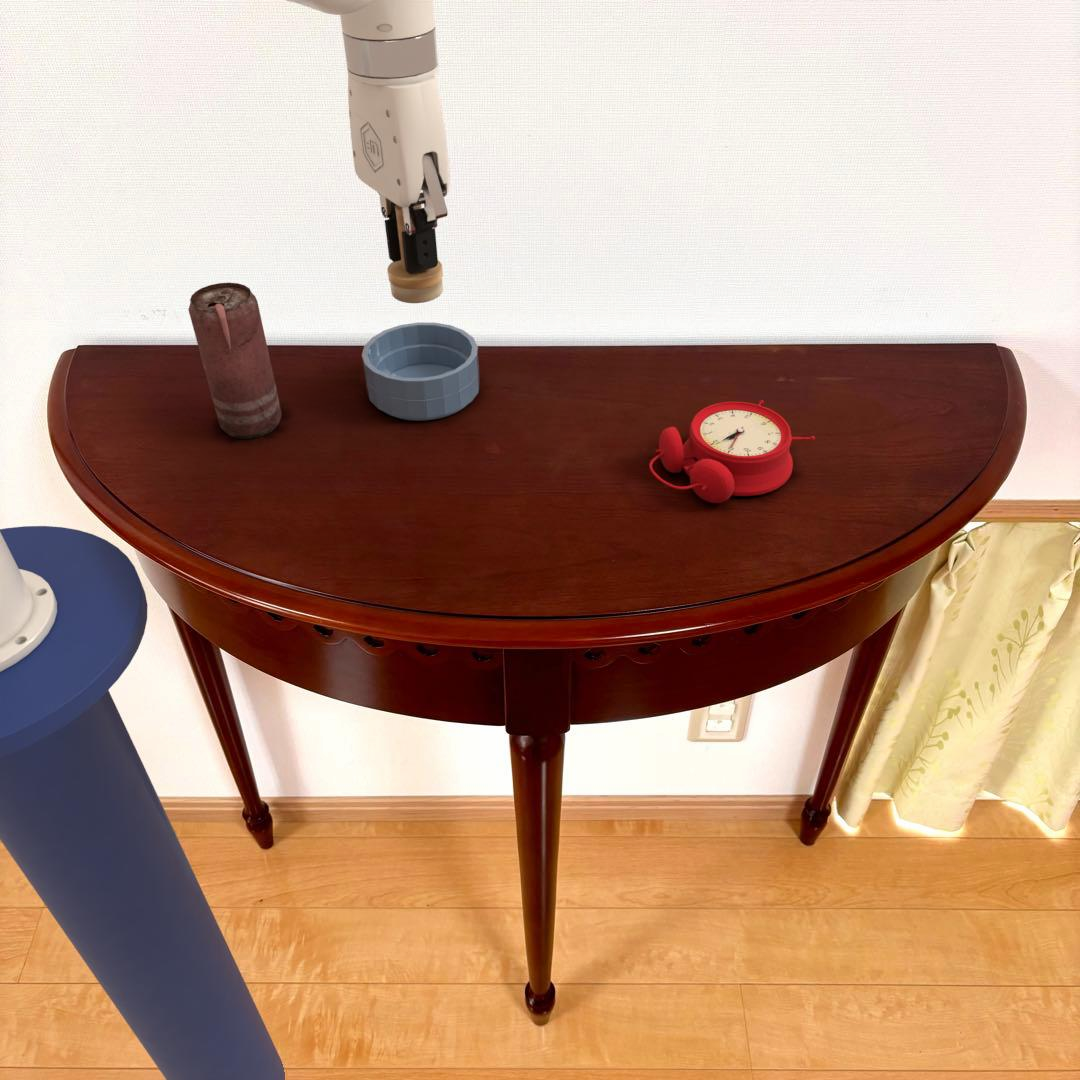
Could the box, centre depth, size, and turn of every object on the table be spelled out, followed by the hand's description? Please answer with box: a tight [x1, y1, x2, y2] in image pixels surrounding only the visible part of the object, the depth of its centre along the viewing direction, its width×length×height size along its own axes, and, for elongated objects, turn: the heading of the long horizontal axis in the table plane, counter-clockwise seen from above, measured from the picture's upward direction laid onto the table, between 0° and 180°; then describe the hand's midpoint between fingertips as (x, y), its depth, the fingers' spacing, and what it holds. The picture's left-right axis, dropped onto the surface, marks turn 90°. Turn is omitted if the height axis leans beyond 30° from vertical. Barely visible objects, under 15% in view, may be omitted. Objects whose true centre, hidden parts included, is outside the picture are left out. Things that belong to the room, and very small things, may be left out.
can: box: [187, 282, 283, 440], centre depth 92 cm, size 6×6×14 cm
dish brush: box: [386, 204, 444, 304], centre depth 90 cm, size 5×5×8 cm
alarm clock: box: [648, 399, 816, 504], centre depth 89 cm, size 10×6×15 cm
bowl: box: [361, 321, 481, 422], centre depth 99 cm, size 12×12×5 cm
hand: (413, 261), depth 91 cm, fingers closed on dish brush, 2 cm apart
